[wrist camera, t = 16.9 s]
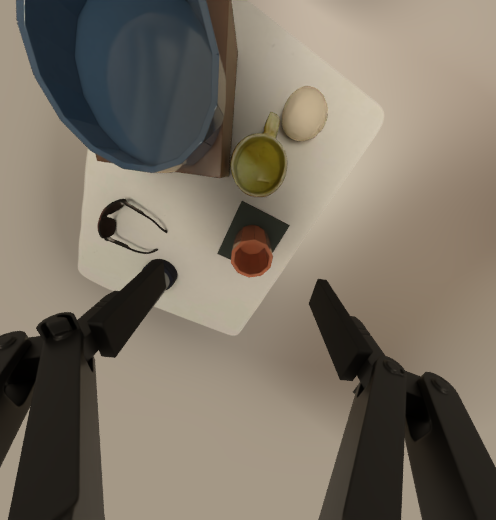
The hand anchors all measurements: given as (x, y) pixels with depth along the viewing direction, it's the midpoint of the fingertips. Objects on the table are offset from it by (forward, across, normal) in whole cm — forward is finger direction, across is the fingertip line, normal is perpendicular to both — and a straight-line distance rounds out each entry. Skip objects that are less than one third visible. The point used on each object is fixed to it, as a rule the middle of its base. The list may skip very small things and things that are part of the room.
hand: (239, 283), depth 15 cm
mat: (+27, +2, -6) cm, 28 cm away
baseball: (+28, +7, +17) cm, 33 cm away
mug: (+28, +1, +10) cm, 29 cm away
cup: (+27, +2, -6) cm, 27 cm away
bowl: (+16, -14, +16) cm, 27 cm away
